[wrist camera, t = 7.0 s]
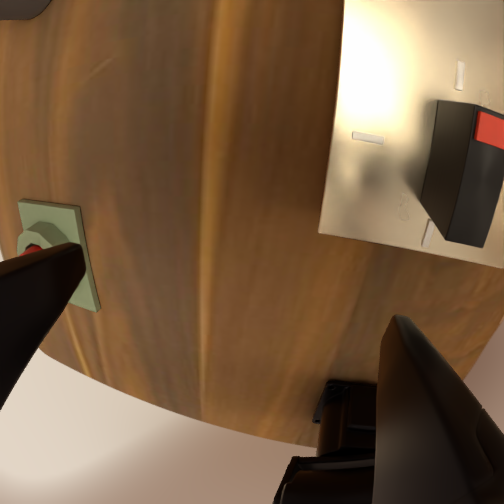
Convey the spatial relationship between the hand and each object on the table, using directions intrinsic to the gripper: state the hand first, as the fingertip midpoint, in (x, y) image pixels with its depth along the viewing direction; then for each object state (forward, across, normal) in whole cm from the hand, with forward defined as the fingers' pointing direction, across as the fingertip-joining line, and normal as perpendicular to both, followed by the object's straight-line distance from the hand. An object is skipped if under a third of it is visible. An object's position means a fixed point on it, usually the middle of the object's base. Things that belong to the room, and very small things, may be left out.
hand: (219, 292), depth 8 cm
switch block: (+11, +19, +9) cm, 24 cm away
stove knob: (+8, -8, -4) cm, 12 cm away
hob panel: (+11, -8, -6) cm, 14 cm away
